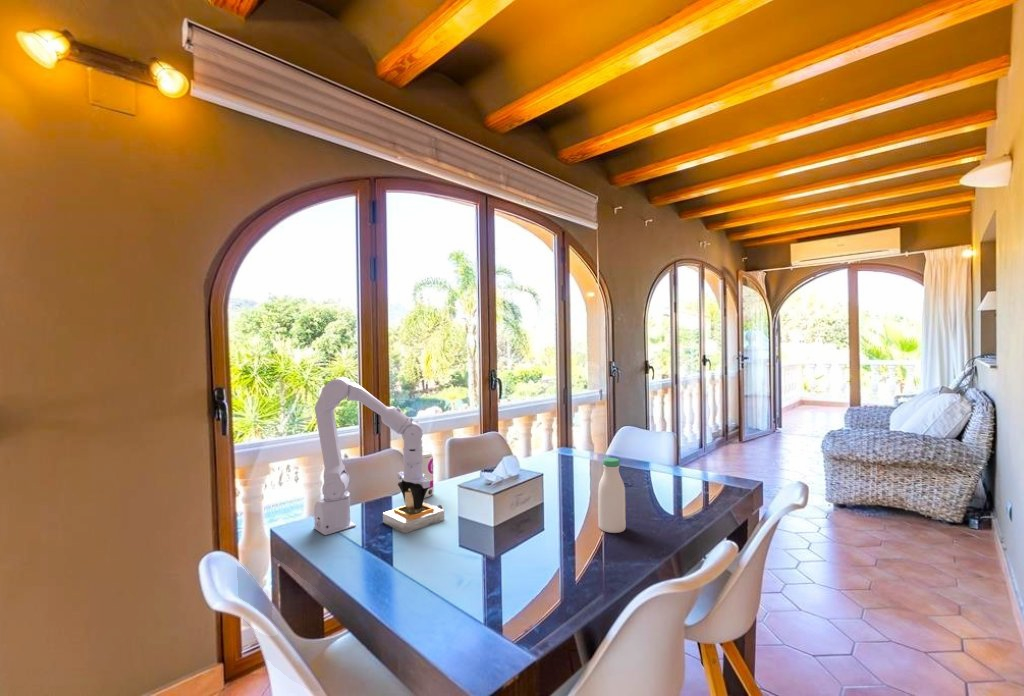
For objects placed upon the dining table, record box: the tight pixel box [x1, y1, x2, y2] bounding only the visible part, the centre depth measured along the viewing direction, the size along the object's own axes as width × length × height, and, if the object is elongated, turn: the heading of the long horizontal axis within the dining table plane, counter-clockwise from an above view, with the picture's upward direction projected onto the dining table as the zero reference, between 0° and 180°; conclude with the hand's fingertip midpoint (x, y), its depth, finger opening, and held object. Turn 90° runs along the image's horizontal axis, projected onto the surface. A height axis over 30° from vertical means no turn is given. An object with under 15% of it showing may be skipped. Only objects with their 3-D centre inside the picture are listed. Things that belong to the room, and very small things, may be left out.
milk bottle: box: [597, 457, 627, 534], centre depth 134 cm, size 8×8×20 cm
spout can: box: [404, 486, 421, 515], centre depth 142 cm, size 6×4×8 cm
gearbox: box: [382, 501, 445, 534], centre depth 142 cm, size 17×12×4 cm
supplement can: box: [415, 450, 435, 499], centre depth 166 cm, size 8×8×15 cm
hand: (413, 506), depth 141 cm, fingers closed on spout can, 4 cm apart
